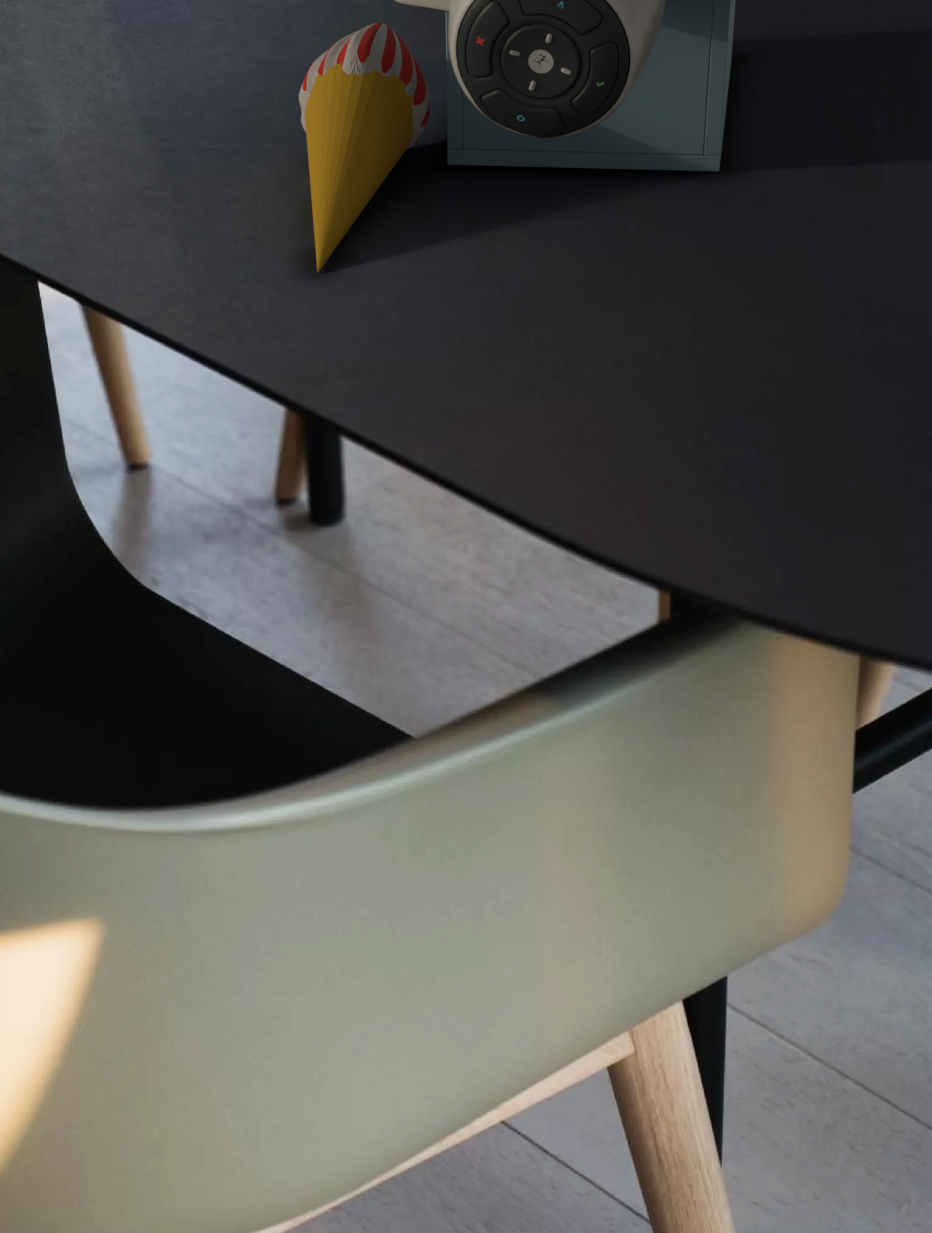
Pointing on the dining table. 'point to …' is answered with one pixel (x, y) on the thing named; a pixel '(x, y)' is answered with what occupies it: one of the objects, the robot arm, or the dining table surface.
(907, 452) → the dining table surface
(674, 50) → the bin
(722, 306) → the dining table surface
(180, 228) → the dining table surface
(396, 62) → the ice cream cone
